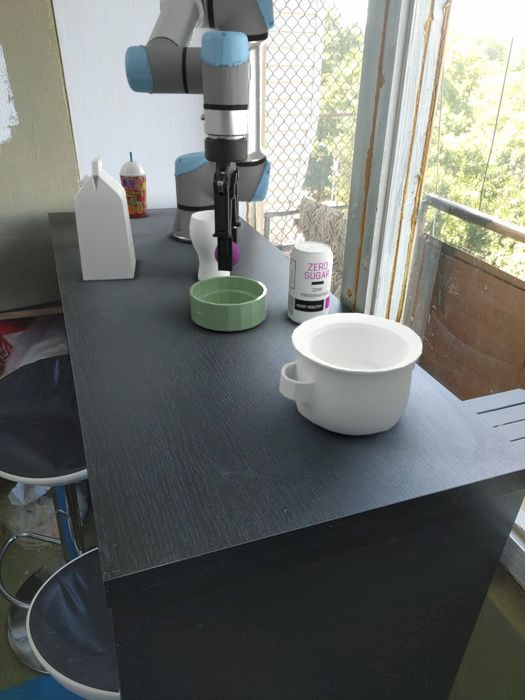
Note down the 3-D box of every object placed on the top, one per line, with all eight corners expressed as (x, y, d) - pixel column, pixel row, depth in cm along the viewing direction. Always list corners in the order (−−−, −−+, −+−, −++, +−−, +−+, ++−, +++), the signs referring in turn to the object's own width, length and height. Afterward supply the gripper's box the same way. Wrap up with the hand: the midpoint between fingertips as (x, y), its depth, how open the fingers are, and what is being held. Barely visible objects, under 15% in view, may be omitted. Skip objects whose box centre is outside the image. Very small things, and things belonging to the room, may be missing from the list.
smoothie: (119, 218, 171) (112, 153, 161) (129, 211, 178) (123, 149, 168) (144, 219, 170) (138, 154, 160) (153, 213, 177) (148, 150, 167)
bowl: (199, 299, 114) (198, 273, 111) (269, 304, 112) (270, 277, 110) (183, 331, 101) (181, 302, 98) (261, 336, 99) (262, 307, 96)
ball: (217, 261, 104) (216, 236, 101) (242, 263, 103) (242, 238, 101) (212, 270, 99) (211, 244, 97) (238, 271, 99) (238, 245, 96)
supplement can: (305, 306, 112) (309, 237, 105) (335, 318, 107) (342, 247, 100) (279, 316, 107) (281, 245, 100) (309, 330, 102) (314, 256, 95)
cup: (229, 288, 120) (229, 223, 113) (185, 283, 122) (182, 219, 114) (240, 272, 129) (240, 211, 122) (199, 268, 131) (197, 208, 124)
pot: (311, 467, 67) (318, 387, 62) (257, 397, 81) (258, 327, 75) (444, 426, 76) (461, 352, 70) (374, 369, 89) (383, 303, 83)
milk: (133, 278, 124) (121, 163, 112) (83, 280, 122) (64, 164, 110) (135, 261, 134) (124, 154, 122) (89, 263, 133) (73, 155, 120)
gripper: (214, 129, 98) (217, 250, 109) (193, 142, 82) (198, 280, 94) (254, 131, 97) (252, 251, 109) (240, 143, 82) (240, 283, 93)
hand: (227, 265), depth 101 cm, fingers closed on ball, 5 cm apart
